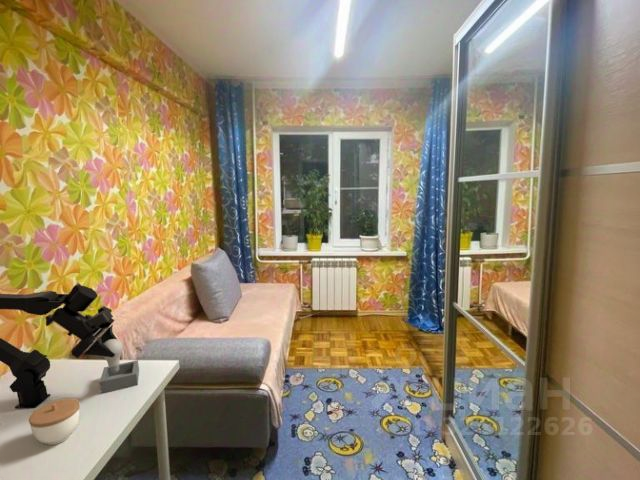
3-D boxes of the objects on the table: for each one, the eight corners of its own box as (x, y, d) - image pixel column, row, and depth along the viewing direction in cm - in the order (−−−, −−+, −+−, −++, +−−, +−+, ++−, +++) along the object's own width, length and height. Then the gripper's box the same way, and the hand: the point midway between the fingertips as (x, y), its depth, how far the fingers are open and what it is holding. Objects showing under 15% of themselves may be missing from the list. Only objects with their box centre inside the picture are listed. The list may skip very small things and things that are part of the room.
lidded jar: (40, 430, 98) (34, 399, 97) (86, 418, 103) (81, 388, 101) (28, 457, 89) (21, 422, 87) (79, 442, 93) (73, 409, 91)
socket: (101, 393, 115) (99, 382, 114) (105, 378, 124) (104, 367, 124) (137, 385, 119) (136, 373, 118) (139, 370, 128) (137, 360, 128)
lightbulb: (119, 377, 112) (114, 343, 110) (99, 377, 112) (95, 344, 110) (129, 367, 118) (125, 335, 116) (111, 368, 118) (107, 336, 116)
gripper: (77, 313, 102) (124, 345, 105) (104, 293, 120) (143, 321, 123) (50, 342, 101) (98, 374, 105) (81, 318, 120) (121, 346, 123)
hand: (117, 351), depth 114 cm, fingers closed on lightbulb, 6 cm apart
